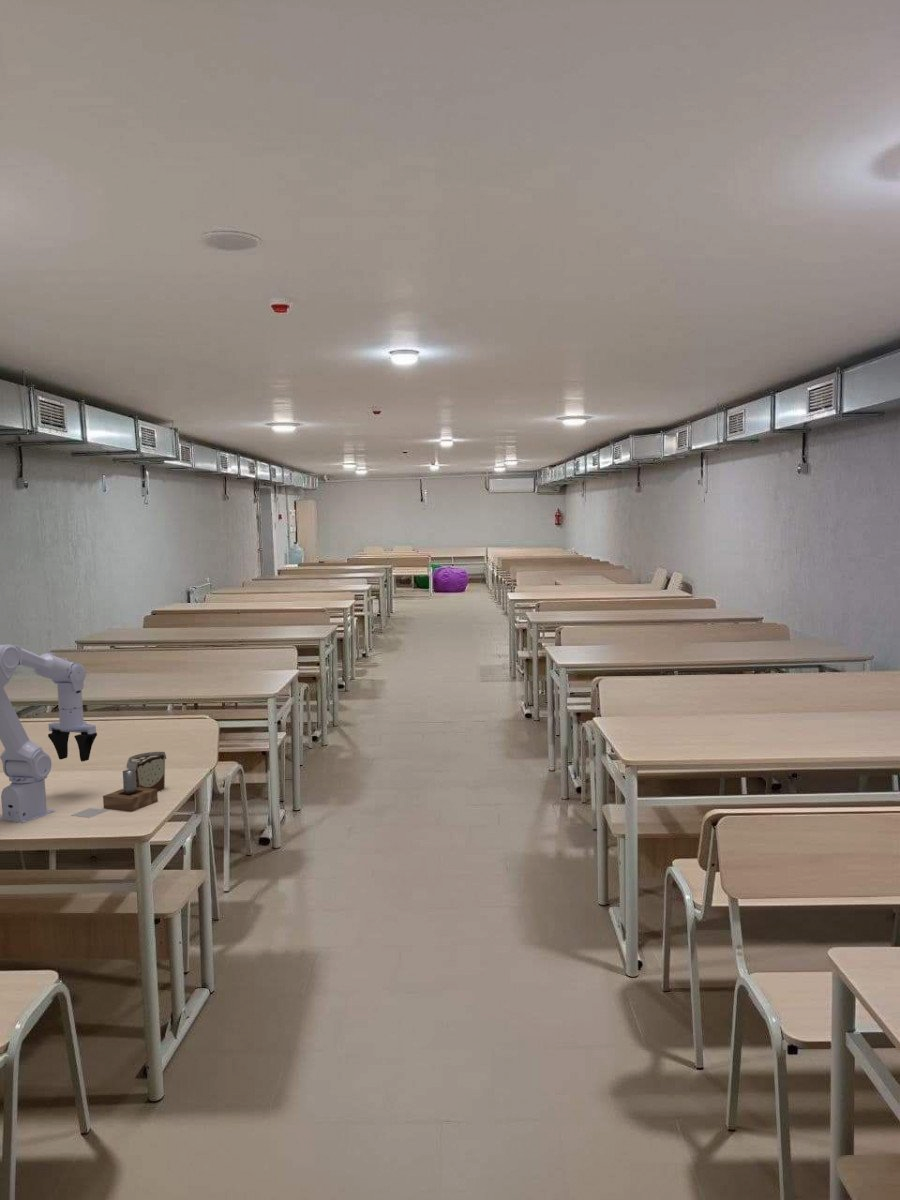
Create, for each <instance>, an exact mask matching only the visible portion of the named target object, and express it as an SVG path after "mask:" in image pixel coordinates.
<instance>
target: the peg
mask: <svg viewBox="0 0 900 1200" xmlns="http://www.w3.org/2000/svg"><path fill="white" fill-rule="evenodd" d="M122 782H123V789H124V795H128V796H131V795H134V794H137V789H136V770H134V769H124V770H123V771H122Z"/></svg>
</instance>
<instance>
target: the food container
mask: <svg viewBox="0 0 900 1200" xmlns="http://www.w3.org/2000/svg"><path fill="white" fill-rule="evenodd" d="M166 760H167V754H166V752H165V751H150V752H143V753H138V754H135V755H131V756H130V757H129V758H128V760H127V762H126V770H129V769H134V770H136V787H141V788H151V789H157V793H160V792H162V791H161V790H163V791H165V790H164V789H166V788H165V786H166V785H165V781H166V780H165V779H166V778H165V777H166V773H165V772H166ZM159 791H160V792H159Z"/></svg>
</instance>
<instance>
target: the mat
mask: <svg viewBox="0 0 900 1200" xmlns="http://www.w3.org/2000/svg"><path fill="white" fill-rule="evenodd" d="M108 811H109V809H100V808H91V807H89V808H87V809H84V810H82V811H78V812H77V813H76V812H75V813H73V814H71V815H70V816H72V817H79V818H88V819H90V818H92V817H95V816H98V815H101V814H104V813H106V812H108Z"/></svg>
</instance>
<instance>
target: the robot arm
mask: <svg viewBox="0 0 900 1200" xmlns="http://www.w3.org/2000/svg"><path fill="white" fill-rule="evenodd" d="M18 666H23V667H27V668H31V669H34V672H35V674H36V675H38V676H40V677H42V678H45V679H48V680H51V681H52V682H53V683H54V684H55V685H57V686H56V688H57V700H58V702H57V703H58V716H59V717H58V719H59V722H51V723H48V724H47V725H48V731H49V732H50V733H48V734H47V737H48V739H49V740H50V741H51V742H52V745H53V746H54V749H55V751H56V753H57V757H58V760H64V759H67V758H68V754H69V747H68V745H69V738H70V734H71V733H79V734H76V735H74V739H75V741H76V743H77V747H78V753H79V759H80V762H85V761H89V760H90V755H91V751H92V746H93V744H94V741H95V740H96V738H97V736H98V733H97V729H96V727H97V726H96V724H95V725H93V724H89V723H87V722H86V721H84V706H83V705H84V704H83V692H82V690H83V689H84V682H85V679H86V676H87V671H86V670H85V667H84V666H83V665H82V663H80V662H78V661H69V660H68V658H66V657H58V656H56V653H55V652H46V653H43V654H40V655H39V654H36V653H34V652H33V651H30V650H27V649H25V648H23V647H21V646H20V645H14V644H10V643H8V644H0V742H1V744H2V746H3V748H4V750H3V751H2V753H1V754H0V760H1V762H2V771H3V773H4V775H5V776H6V777H8V781H9V782H11V783H10V784H9V785H8V786H6V787H4V788H3V789H2V790H1V795H0V800H1V813H2V816H1V817H0V820H1V821H6V822H7V821H8V822H13V823H14V822H15V823H21V824H24V823H27V822H31V821H33V820H36V819H38V818H41V817H44V816H47V815H49V814H52V813H55V812H56V810H55V809H50V808H49V809H47V795H46V792H47V791H46V780H45V779H48V775H49V774H50V772H51V770H52V758H51V756H50V755H49V753H46V752H45V751H44V750H43V748H42V746H40V745H39V744H37V743H35V742H34V741H32V740H31V739H29V736H28V734H27V732H26V730H25V728H24V726H23V724H22V723H21V720H20V719H19V716H18V714H17V713H16V710H15V709H14V706H13V704H12V703H11V701H10V699H9V697H8V695H7V692H6V690H5V686H6V685H7V684H9V682H10V681H11V678H12V677H13V675H14V673H15V672H16V670H17V667H18Z"/></svg>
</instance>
